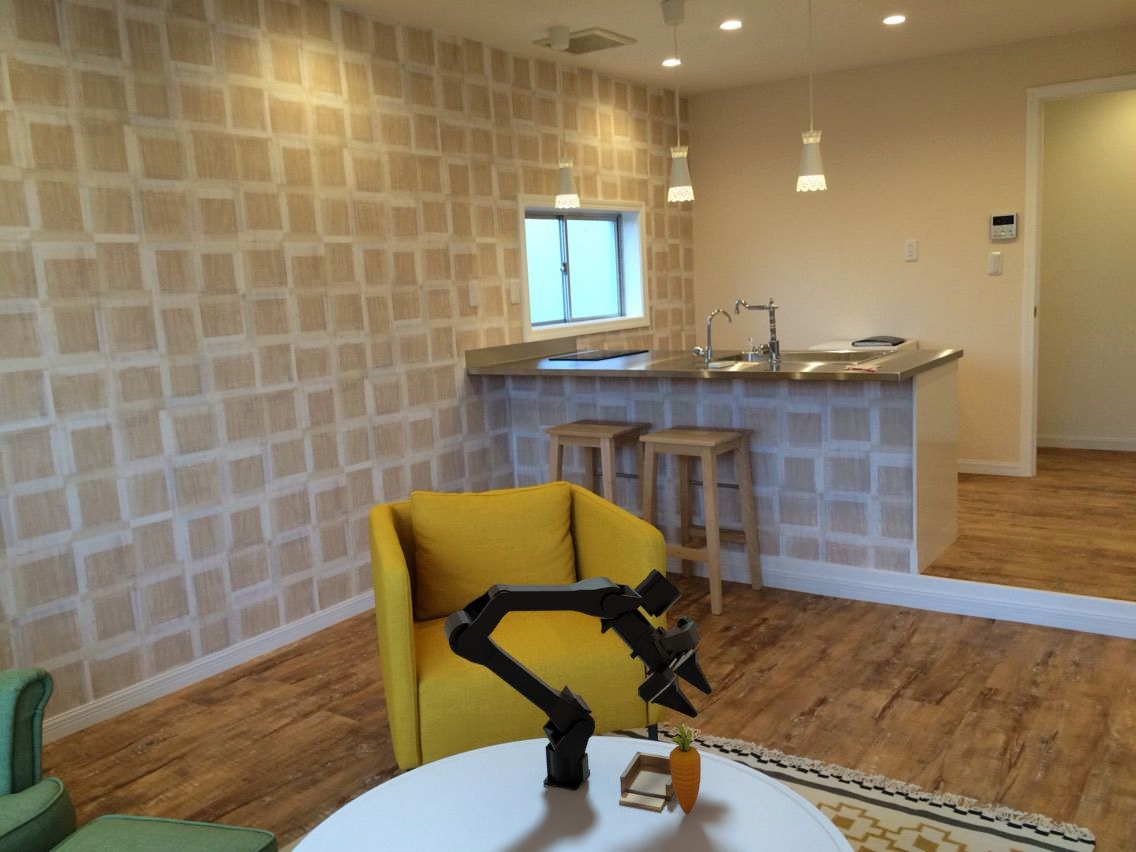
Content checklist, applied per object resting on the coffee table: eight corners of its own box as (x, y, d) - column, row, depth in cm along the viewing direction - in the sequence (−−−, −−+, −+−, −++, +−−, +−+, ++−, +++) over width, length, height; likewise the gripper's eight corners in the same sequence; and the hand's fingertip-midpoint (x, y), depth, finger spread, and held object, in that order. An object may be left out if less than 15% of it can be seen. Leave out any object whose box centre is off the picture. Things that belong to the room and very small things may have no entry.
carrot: (701, 824, 147) (698, 736, 145) (670, 822, 148) (666, 734, 146) (703, 806, 152) (700, 721, 150) (673, 804, 153) (669, 719, 151)
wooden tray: (614, 802, 155) (613, 785, 154) (637, 767, 166) (637, 751, 165) (665, 811, 151) (664, 794, 151) (685, 775, 162) (684, 759, 162)
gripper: (653, 627, 150) (722, 700, 148) (686, 590, 167) (748, 656, 164) (610, 667, 155) (675, 739, 152) (646, 627, 171) (705, 691, 169)
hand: (703, 704), depth 159 cm, fingers open, 9 cm apart
